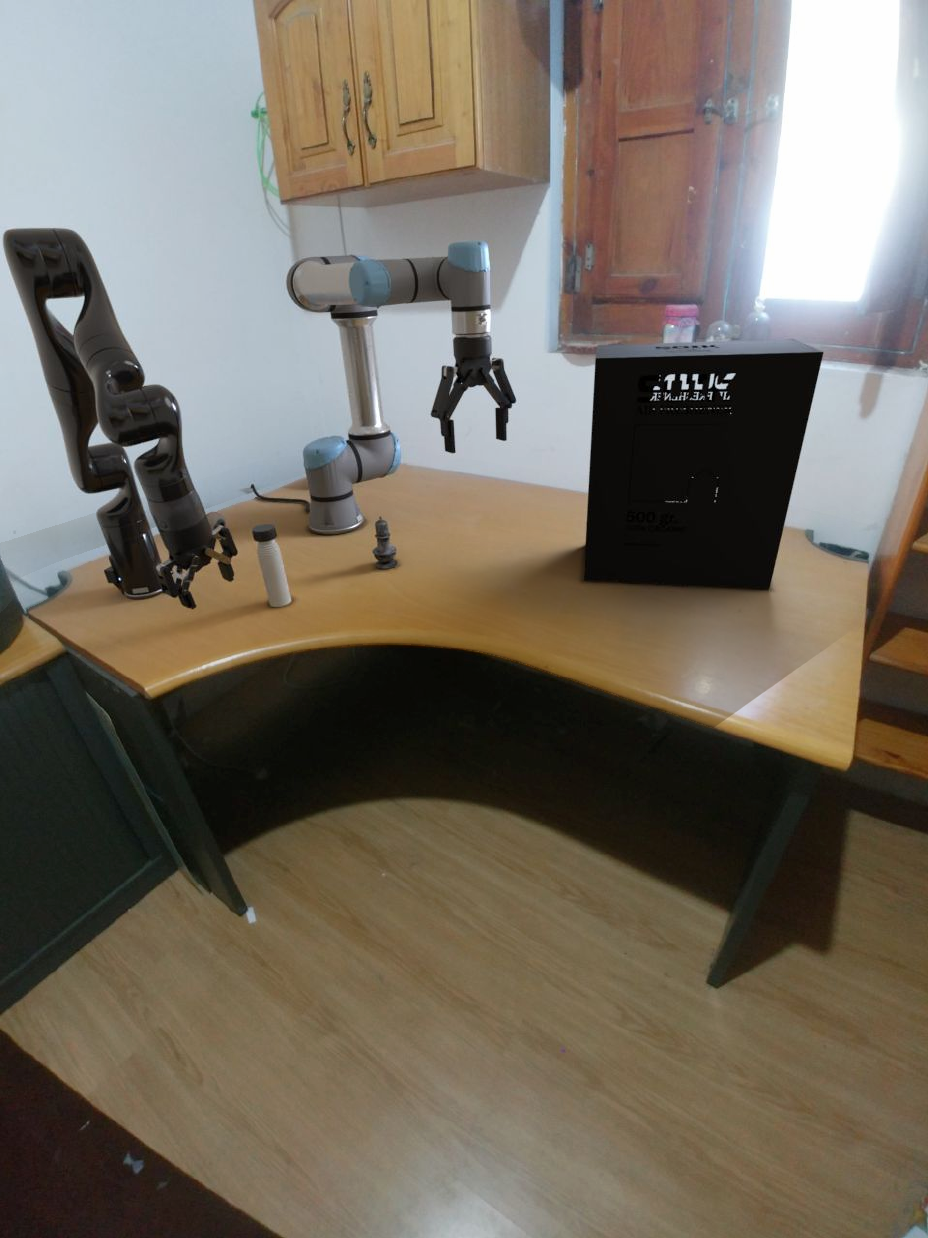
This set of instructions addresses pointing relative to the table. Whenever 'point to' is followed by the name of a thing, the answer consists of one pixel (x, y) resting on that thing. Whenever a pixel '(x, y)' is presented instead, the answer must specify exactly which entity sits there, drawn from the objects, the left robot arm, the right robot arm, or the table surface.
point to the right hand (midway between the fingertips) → (476, 445)
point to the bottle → (273, 573)
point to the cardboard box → (695, 460)
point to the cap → (264, 532)
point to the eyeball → (216, 519)
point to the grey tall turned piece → (384, 546)
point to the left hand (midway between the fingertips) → (210, 593)
